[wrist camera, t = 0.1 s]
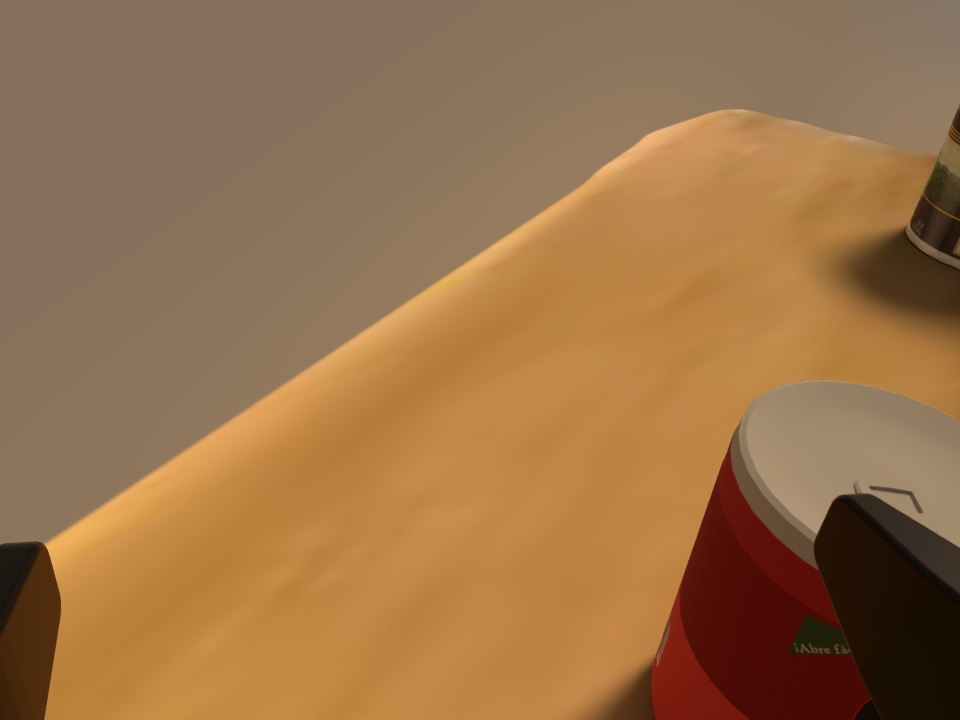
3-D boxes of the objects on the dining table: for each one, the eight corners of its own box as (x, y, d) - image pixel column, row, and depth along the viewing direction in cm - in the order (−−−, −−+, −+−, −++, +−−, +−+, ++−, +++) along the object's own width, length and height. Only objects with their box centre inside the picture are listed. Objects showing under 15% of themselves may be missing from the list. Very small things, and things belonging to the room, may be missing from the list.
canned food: (700, 878, 22) (839, 615, 16) (612, 633, 29) (688, 378, 23) (945, 842, 24) (1156, 588, 18) (809, 616, 30) (930, 373, 24)
